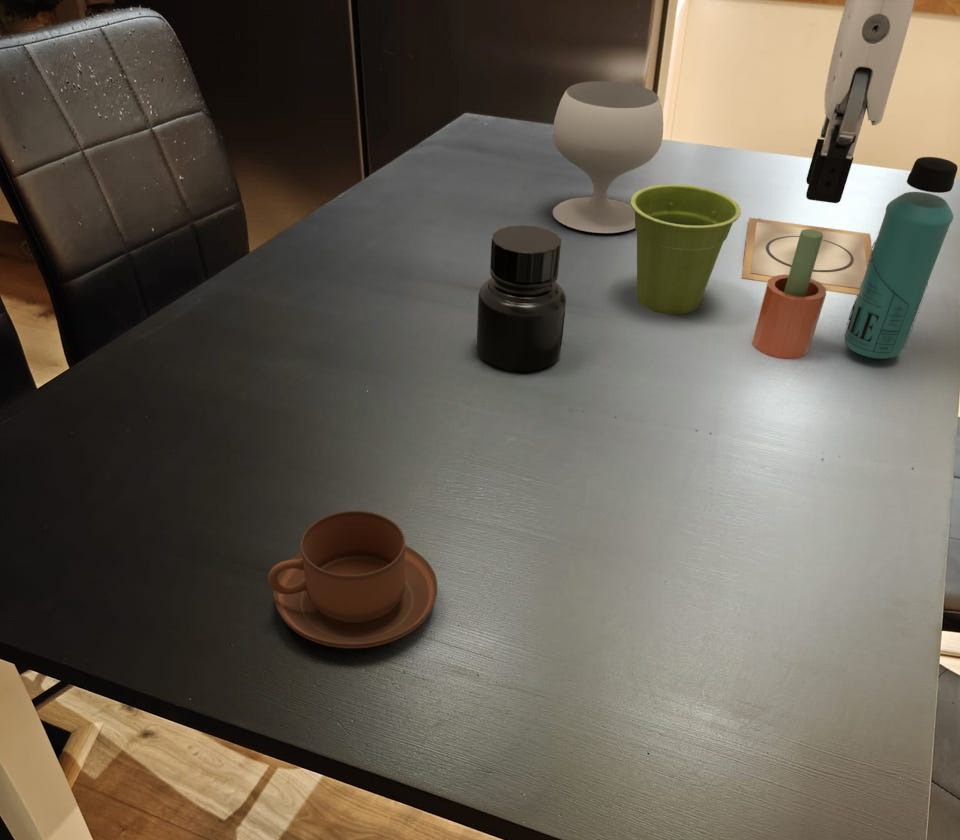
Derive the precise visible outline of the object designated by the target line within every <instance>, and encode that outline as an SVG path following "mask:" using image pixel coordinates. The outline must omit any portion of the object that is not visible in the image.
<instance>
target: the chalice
mask: <svg viewBox="0 0 960 840" xmlns="http://www.w3.org/2000/svg"><path fill="white" fill-rule="evenodd" d="M552 137H553V141H554V146H555V147H556V149H557V150H558V152H559V153H560V154H561V155H562V157H563V158H565V160H567V161H568V162H570V163H571V164H573V165H574V166H576V167H577V168H579V169H580V170H581V171H583V172H584V173H585V174H586V175H587V176H588V177H589V179H590V180H591V181H590V182H591V183H592V186H593V192H592V195H591V196H588V197H587V196H586V197H575V198H570V199H566V200H564V201H561V202H560V203H558V204H557V205H556V206H555V207H553V209H552V216H553V217H554V219H555V220H557V221H558V222H559V223H561V225H564V226H566V227H569V228H571V229H575V230H577V231H583V232H588V233H596V234H615V233H622V232H627V231H631V230H633V229H636V228H635V211H634V210H633V208H632V206H631V204H628V203H626V202H622V201H620V200H616V199H613V198H612V199H611V198H608V190H609V188H610V186H611V184H612V183H613V182H614V181H615V180H616V179H617V178H618V177H620V176H622V175H624V174H626V173H628V172H630V171H632V170H636V169H638V168H640V167H642V166H644V165H645V164H647V163H649V162H650V161H651V160H652V159H653V158H654V157H655V156H656V155H657V154H658V152H659V150H660V148H661V146H662V142H663V137H664V113H663V106H662V103H661V100H660V97H659V95H658V94H657V93H656V92H654V91H653V90H652V89H649V88H647V87H644V86H641V85H638V84H633V83H628V82H622V81H611V80H596V81H595V80H592V81H584V82H579V83H575V84H573V85H570V86H569V87H568V88H567V89H566V90H565V91H564V93H563V95H562V97H561V98H560V101H559V104H558V106H557V110H556V113H555V117H554V120H553V125H552Z"/></svg>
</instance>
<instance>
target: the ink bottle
mask: <svg viewBox="0 0 960 840" xmlns="http://www.w3.org/2000/svg"><path fill="white" fill-rule="evenodd" d="M561 246H562V238H561V237H560V236H559V235H558V233H557V232H554V231H552V230H550V229H547V228H543V227H540V226H536V225H524V224H521V225H509V226H505V227H502V228H499V229H498V230H496V231H495V232H493V233H492V238H491V245H490V266H489V268H490V271H489V273H490V276H491V277H490V278H489V279H488V280H486V281H485V282H484V283H483V284H482V285H481V287H480V289H479V292H478V297H477V298H478V299H477V300H478V301H477V323H476V324H477V325H476V352H477V354H478V355H479V357H480V358H481V359H482V360H483V361H485V362H486V363H488V364H489V365H492V366H495V367H496V368H500V369H503V370H507V371H514V372H533V371H537V370H538V371H539V370H541V369H544V368H547V367H548V366H550V365H552V364H553V363H555V362H556V361H557V360H558V358H559V357H560V354H561V350H562V346H563V345H562V344H563V335H564V327H565V326H564V325H565V316H566V303H567V297H566V293H565V290H564V289H563V287H562V286H561V285H560V284H559V283H558V282H557V280H558V277H559V268H560V256H561V248H562V247H561Z"/></svg>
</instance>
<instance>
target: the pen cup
mask: <svg viewBox="0 0 960 840" xmlns="http://www.w3.org/2000/svg"><path fill="white" fill-rule="evenodd" d="M788 276H789V275H778V276H774V277H772V278H770V279H769V280H768V281H767V282H766V286H765V289H764V293H763V297H762V301H761V305H760V308H759V312H758V316H757V320H756V323H755V327H754V331H753V334H752V341H751V344H752V346H753V347H754V348H755V349H756V351H758V352H760V353H761V354H763V355H766V356H768V357H771V358H775V359H783V360H795V359H799V358H802V357H804V356H806V355H807V354H808V353H809V351H810V348H811V345H812V341H813V338H814V334H815V331H816V328H817V326H818V325H817V324H818V322H819V319H820V315H821V314H822V313H821V312H822V309H823V306H824V302H825V300H826V296H827V291H826V288H825V287H824V286H823V285H822V284H821V283H819V282H817V281H815V280H813V279H810V282H809V286H808V289H807V292H806V296H805V297H799V296H793V295H789V294H786V293H784V291H785V287H786V284H787V280H788Z"/></svg>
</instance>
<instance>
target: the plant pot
mask: <svg viewBox="0 0 960 840" xmlns="http://www.w3.org/2000/svg"><path fill="white" fill-rule="evenodd" d="M630 206H632V208H633V210H634V211H635V228H634V229H635V230H636V299H637V301H638V303H639V304H640V305H641V306H643V307H644V308H646V309H648V310H650V311H652V312H656V313H661V314H666V315H683V314H684V315H685V314H688V313H692V312H693V311H695V310H697V309H698V308H699V306H700V304H701V302H702V299H703V297H704V296H703V295H704V294H705V291H706V288H707V286H708V283H709V280H710V278H711V276H712V273H713V270H714V268H715V265H716V263H717V259H718V257H719V254H720V251H721V249H722V247H723V244H724V242H725V241H726V240H727V238H728V236H729V233H730V231H731V228H732V226H733V223H735V222H737V220H738V219H739V218H740V216H741V214H742V209H741V207H740V205H739V203H738V202H737V201H736V200H734V199H733V198H732V197H730V196H728V195H726V194H724V193H722V192H719V191H716V190H713V189H710V188H706V187H702V186H697V185H689V184H676V183H675V184H672V183H671V184H669V183H667V184H666V183H665V184H657V185H651V186H647V187H644V188H641V189H639V190H637V191H636V192H634V193H633V194H632V196H631V198H630Z"/></svg>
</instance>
